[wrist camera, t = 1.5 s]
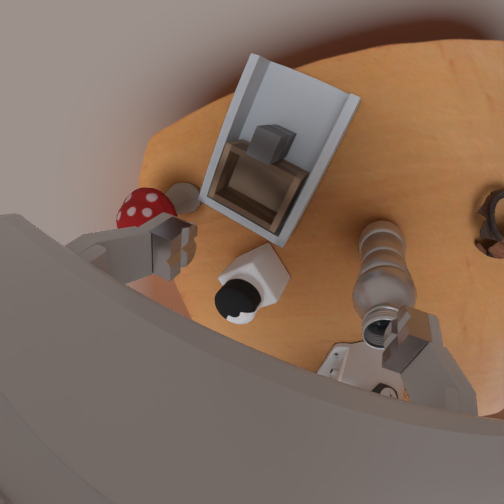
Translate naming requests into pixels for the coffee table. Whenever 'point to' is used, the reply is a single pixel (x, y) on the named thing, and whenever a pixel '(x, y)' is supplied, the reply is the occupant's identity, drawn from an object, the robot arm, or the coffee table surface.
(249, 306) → the medicine bottle
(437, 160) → the coffee table surface
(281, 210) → the crate
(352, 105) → the bay
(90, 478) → the robot arm
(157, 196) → the decorative mushroom
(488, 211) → the broken clay pot
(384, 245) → the plastic bottle
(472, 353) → the coffee table surface
